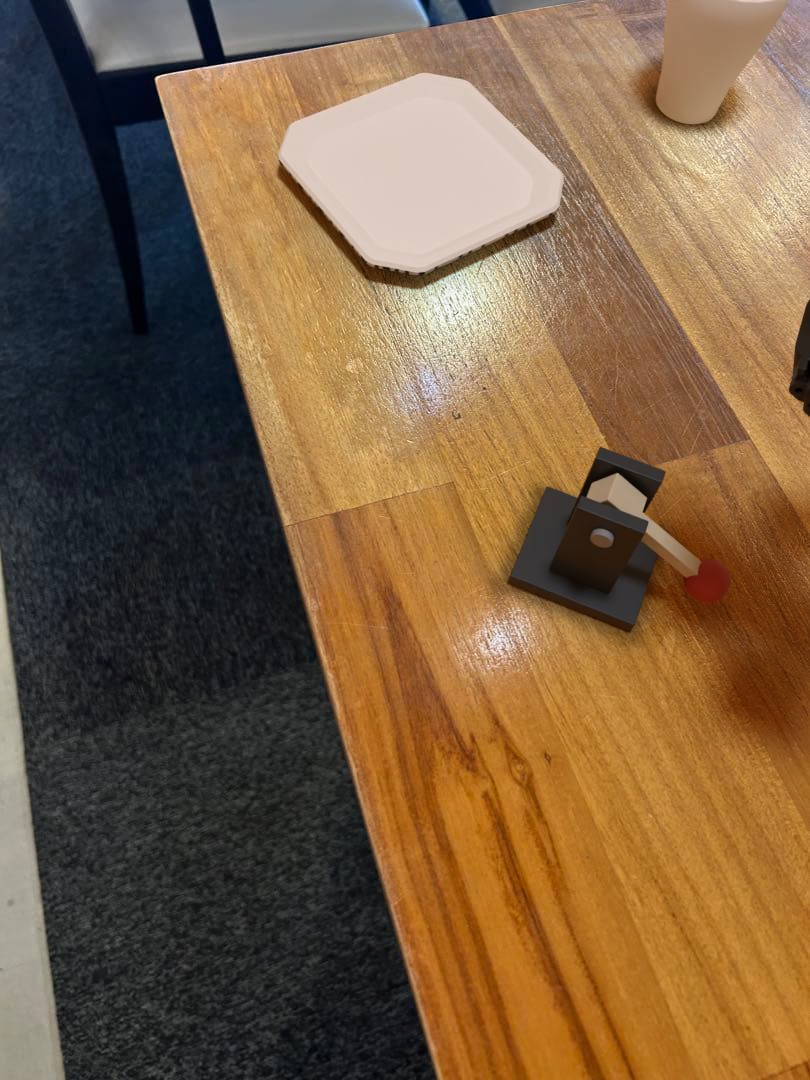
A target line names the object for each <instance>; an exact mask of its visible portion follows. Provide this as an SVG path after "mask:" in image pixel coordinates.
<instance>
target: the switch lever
mask: <svg viewBox="0 0 810 1080" xmlns="http://www.w3.org/2000/svg"><path fill="white" fill-rule="evenodd" d="M587 498H589V499H592V500H595V501H597V502H600V503H603V504H605V505H608V506H610V507H613V508H616V509H618V510H621V511H623V512H626V513H629V514H631V515H634V516H636V517H639V518H642V519H644V520H647V521H649V523H648V526H647V529H646V532H645V535H644V536H643V538H642V540H641V541H642V542H644V543H645V544H646V545H647V546H649V547H650V548H651V549H652V550H653V551H655V552H656V553H657V554H658V556H659V557H660V558H662V559H663V560H664V561H665V562H666V563H668V564H669V565H670V566H671V567H673V568H674V569H675V570H676V571H677V572H678V573H680V574H681V575H682V576H683V580H682V582H683V587H684V589H685V592H686V593H687V594H688V596H689V597H690V598H691V599H693V600H694V601H696V602H699V603H703V604H711V603H716V602H718V601H720V600H721V599H722V598H724V597H725V596H726V595H727V593H728V592H729V589H730V587H731V575H730V572H729V569H728V568H727V567H726V566H725V565H724V563H722V562H721V561H719V560H717V559H714V558H709V557H703V558H698V557H696V555H694V554H693V553H692V552H690V550H689V549H687V548H686V547H684V546H683V545H682V544H681V543H680V542H679V541H678V540H677V539H675V538H674V537H673V536H671V535H670V534H669V533H668V531H666V530H665V529H663V528H662V527H661V526H660V525H659V524H658V523H656V522H655V521H654V520H652V519H651V517H649V516H648V515H647V514H645V513H643V509H644V506H645V503H646V500H647V497H645V496H644V495H643V494H642V493H641V492H640V491H638V490H637V489H636V488H635V487H634V486H633V485H631V484H630V483H629V482H628V481H627V480H625V479H624V478H623V477H622V476H621V475H620V474H618V473H616V474H614V475H611V476H609V477H606V478H603V479H601V480H598V481H596V482H593V483H592V484H591V487H590V489H589V492H588V495H587Z"/></svg>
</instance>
